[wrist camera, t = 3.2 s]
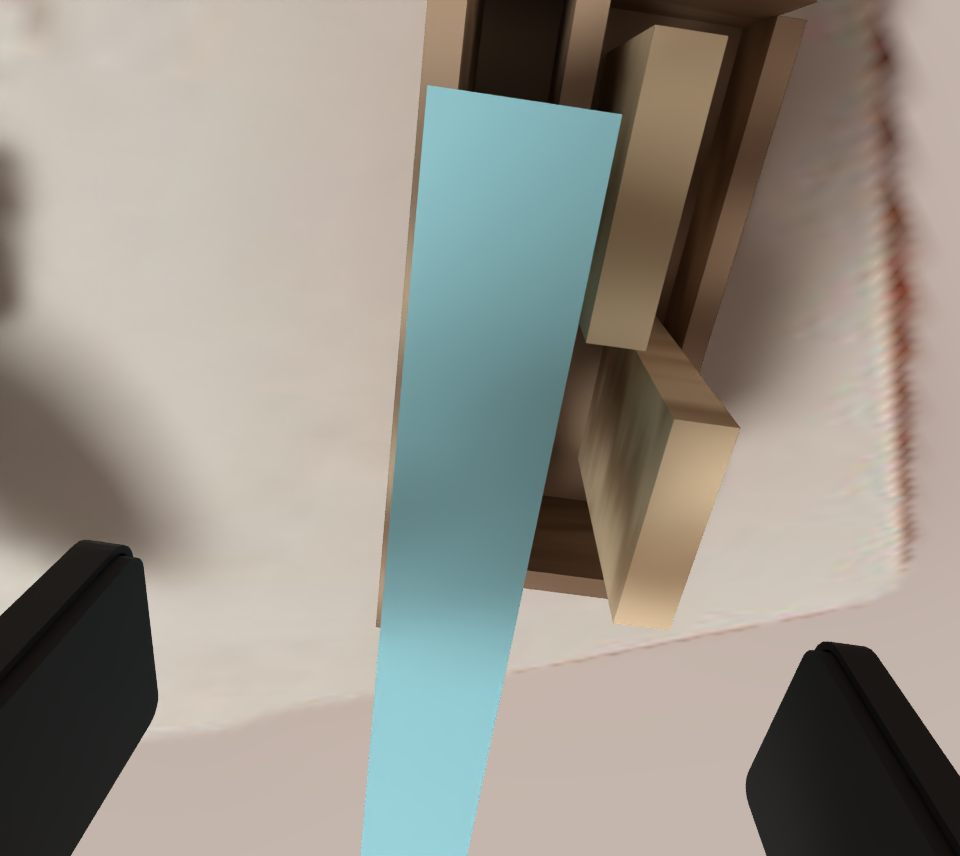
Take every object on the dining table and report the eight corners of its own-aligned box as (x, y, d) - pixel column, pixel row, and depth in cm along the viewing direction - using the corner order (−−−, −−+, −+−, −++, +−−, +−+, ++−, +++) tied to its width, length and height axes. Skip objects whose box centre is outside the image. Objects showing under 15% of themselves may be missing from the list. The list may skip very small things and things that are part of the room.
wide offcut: (606, 53, 25) (655, 24, 17) (656, 60, 25) (728, 35, 17) (563, 279, 29) (585, 342, 21) (606, 285, 29) (645, 351, 21)
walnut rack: (465, -40, 25) (439, -145, 15) (763, 7, 26) (937, -64, 15) (412, 479, 36) (375, 626, 26) (623, 507, 36) (671, 664, 26)
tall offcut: (612, 308, 30) (673, 419, 19) (654, 314, 30) (740, 428, 19) (577, 458, 33) (613, 623, 22) (615, 463, 33) (669, 630, 23)
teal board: (484, 106, 26) (427, 84, 6) (533, 113, 26) (622, 114, 7) (447, 413, 32) (358, 883, 13) (486, 419, 32) (458, 895, 13)
